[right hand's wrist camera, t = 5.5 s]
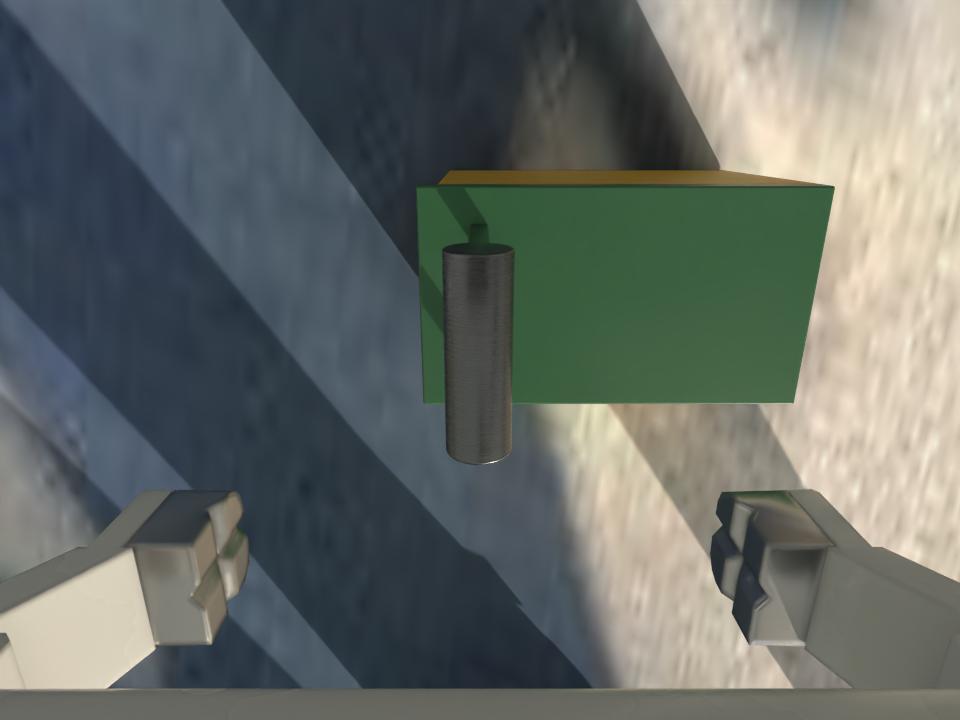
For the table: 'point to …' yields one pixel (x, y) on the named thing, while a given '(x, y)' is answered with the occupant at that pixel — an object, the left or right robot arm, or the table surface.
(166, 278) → the table surface
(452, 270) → the lid
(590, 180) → the chest
